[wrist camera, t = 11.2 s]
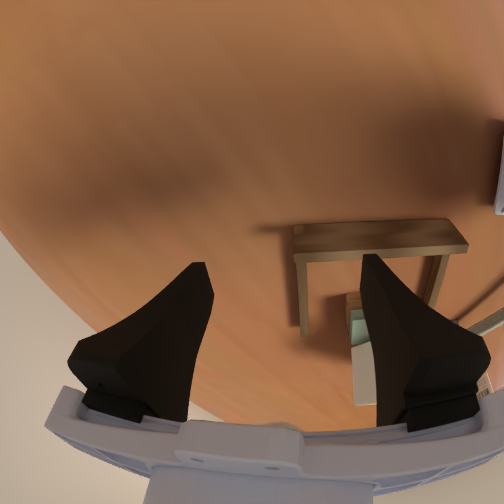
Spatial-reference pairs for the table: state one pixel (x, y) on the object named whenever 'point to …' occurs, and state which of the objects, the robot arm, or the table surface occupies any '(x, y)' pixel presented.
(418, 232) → the frame
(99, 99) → the table surface
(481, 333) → the caliper
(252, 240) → the table surface
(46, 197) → the table surface
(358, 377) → the cream tapered prism
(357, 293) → the block
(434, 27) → the table surface
